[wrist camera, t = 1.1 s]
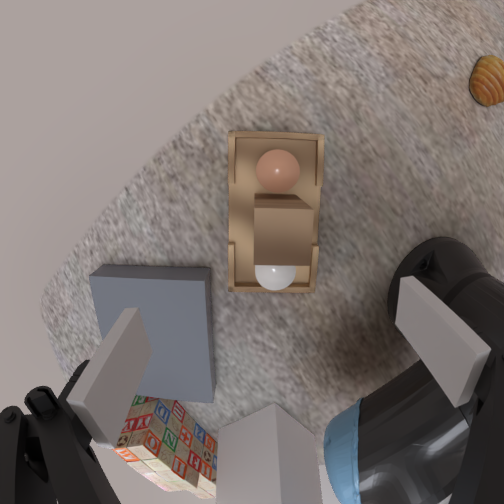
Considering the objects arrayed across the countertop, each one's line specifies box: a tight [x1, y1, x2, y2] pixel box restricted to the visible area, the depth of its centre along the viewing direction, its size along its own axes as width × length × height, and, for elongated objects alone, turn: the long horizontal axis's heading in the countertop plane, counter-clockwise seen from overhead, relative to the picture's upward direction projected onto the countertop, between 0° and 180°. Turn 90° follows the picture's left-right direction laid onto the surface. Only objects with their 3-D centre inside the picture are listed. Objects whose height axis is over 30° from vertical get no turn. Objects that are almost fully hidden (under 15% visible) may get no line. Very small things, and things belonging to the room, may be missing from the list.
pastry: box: [469, 55, 504, 107], centre depth 25 cm, size 9×7×4 cm
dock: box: [89, 265, 216, 403], centre depth 35 cm, size 14×18×4 cm
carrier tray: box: [228, 131, 324, 293], centre depth 27 cm, size 16×9×13 cm, turn 179°
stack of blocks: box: [112, 395, 218, 499], centre depth 38 cm, size 21×6×12 cm, turn 27°
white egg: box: [255, 265, 296, 290], centre depth 29 cm, size 4×4×4 cm
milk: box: [216, 403, 323, 504], centre depth 31 cm, size 12×12×26 cm
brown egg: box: [256, 149, 300, 193], centre depth 26 cm, size 4×4×4 cm
